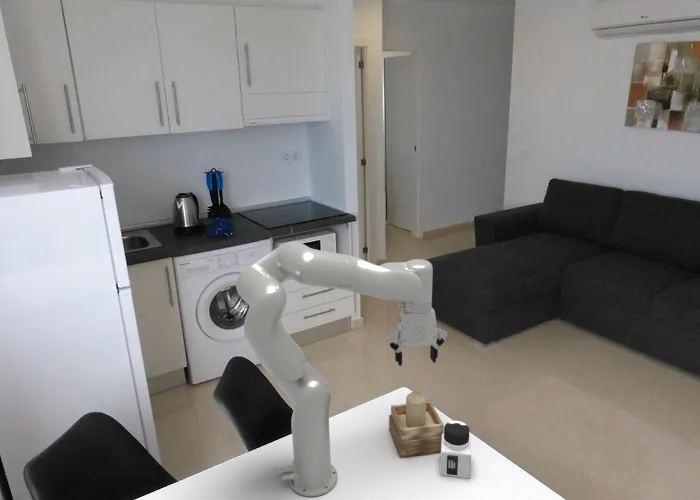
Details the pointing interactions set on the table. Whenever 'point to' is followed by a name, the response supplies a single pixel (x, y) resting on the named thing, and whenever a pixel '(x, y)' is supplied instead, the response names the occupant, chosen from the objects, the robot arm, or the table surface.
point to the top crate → (430, 429)
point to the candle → (415, 409)
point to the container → (456, 450)
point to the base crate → (414, 444)
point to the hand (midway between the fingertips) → (416, 361)
